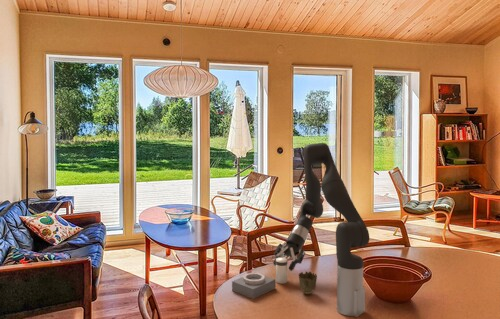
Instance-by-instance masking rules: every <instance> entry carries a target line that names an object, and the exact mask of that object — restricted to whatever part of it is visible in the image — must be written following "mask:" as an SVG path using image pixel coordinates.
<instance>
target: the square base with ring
mask: <svg viewBox="0 0 500 319" xmlns="http://www.w3.org/2000/svg"><path fill="white" fill-rule="evenodd" d="M275 289H276V278H273V277H269V276H267V275H264V274H262V273H259V272H248V273H245V274H244V275H243V276H242V277H239V278H237V279H234V280H232V281H231V290H232V292H234V293H237V294H240V295H242V296H245V297H247V298H249V299H252V300H255V299H257V298H258V297H260V296H263V295H266V294H267V293H268V292H271V291H273V290H275Z"/></svg>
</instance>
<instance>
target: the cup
mask: <svg viewBox="0 0 500 319" xmlns="http://www.w3.org/2000/svg"><path fill="white" fill-rule="evenodd" d="M317 278H318V276H317V273H314V272H313V273H312V272H311V271H309V272H308V271H305V273H303V272H299V274H298V280H299V281H298V282H299V283H298V284H299V286H300V289H301V290H303V291H302V293H303V295H306V296H309V295H312V294H313V291H314V290H315V289H316V286H317V280H318V279H317Z"/></svg>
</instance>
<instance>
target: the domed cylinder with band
mask: <svg viewBox="0 0 500 319" xmlns="http://www.w3.org/2000/svg"><path fill="white" fill-rule="evenodd" d="M275 283H277V284H281V285H282V284H283V285H285V284H287V283H288V258H286V257H282V258H277V259H276V266H275Z"/></svg>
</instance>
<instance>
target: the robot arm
mask: <svg viewBox="0 0 500 319" xmlns="http://www.w3.org/2000/svg"><path fill="white" fill-rule="evenodd" d="M330 149H331V148H330V147H329V146H328V144H327V143H325V142H317V143H310V144H306V145H305V146H304V148H303V166H304V175H305V199H306V200H304V201H302V203H301V208H300V213H299V217H298V220H297V222H296V223H295V225H294V227H293V228H292V229H291V232H290V234H289V235H288V238H287V239H286V243H285V244H284V245H283V244H282V243H279V244H278V246H277V247H276V249H275V250H274V252H273V255H274V256H275V258H274V260H273V265H274V266H275V267H276V259H277V258H286V257H288V258H289V257H290V258H291V259H292V261H291V262H290V265H289V266H288V270H289V271H291V272H292V271H294V270H295V267H296V266H297V264H298V265H299V264H302V262H303V259H304V257H305V255H306V251H305V250H304V248H303V246H304V244H305V243H306V240H307V238H308V235H309V233H310V231H311V229H312V227H313V224H314V222H313V220H312V219H311V218H315V219H319V218H321V217H322V215H323V213H324V205H323V201H322V197H321V196H322V194H323V197H324V198H325V201H326V202H327V203H328V204H329V206H330V207H332V208H333V209H334V210H335V211H337V212H338V213H339V214H341V216H343V217H344V218H345V220H346V222H339V223H338V224H337V226H336V228H335V246H336V250H335V252H336V259H337V261H336V262H337V263H336V264H337V271H336V274H337V275H336V276H337V278H336V311H337V312H338V313H339V314H341V315H344V316H347V317H355V318H358V317H359V316H361V315H362V314H363V313H365V310H366V303H365V302H366V286H365V285H364V258H363V257H361V256H360V255H357V254H354V253H352V252H351V249H352V248H361V247H366V246H367V245H369V243H370V233H369V230H368V227H367V225H366V223H365V222H364V220H363V218H362V216H361V215H360V213H359V211H358V209H357V208H356V206H355V204H354V202H353V201H352V199H351V196H350V194H349V192H348V189H347V187H346V185H345V183H344V181H343V179H342V177H341V176H340V173H339V171H338V168H337V166H336V163H335V160H334V158H333V155H332V152H331V150H330ZM315 165H324V167H325V171H324V174H323V177H322V180H321V181H320V180H319V177H317V175H316V174H315V172H314V169H313V166H315ZM321 193H322V194H321ZM308 216H309V217H308ZM310 217H311V218H310ZM302 248H303V249H302Z"/></svg>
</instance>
